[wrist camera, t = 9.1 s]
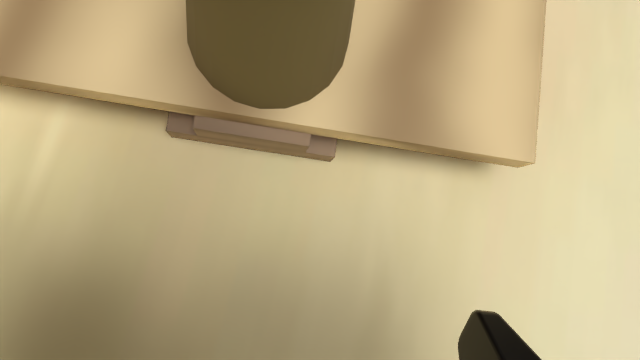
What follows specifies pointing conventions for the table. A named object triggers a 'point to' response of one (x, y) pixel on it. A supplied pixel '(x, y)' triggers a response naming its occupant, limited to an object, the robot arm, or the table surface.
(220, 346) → the table surface
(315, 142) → the ridge
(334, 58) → the olive pawn
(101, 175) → the table surface
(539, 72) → the plank
